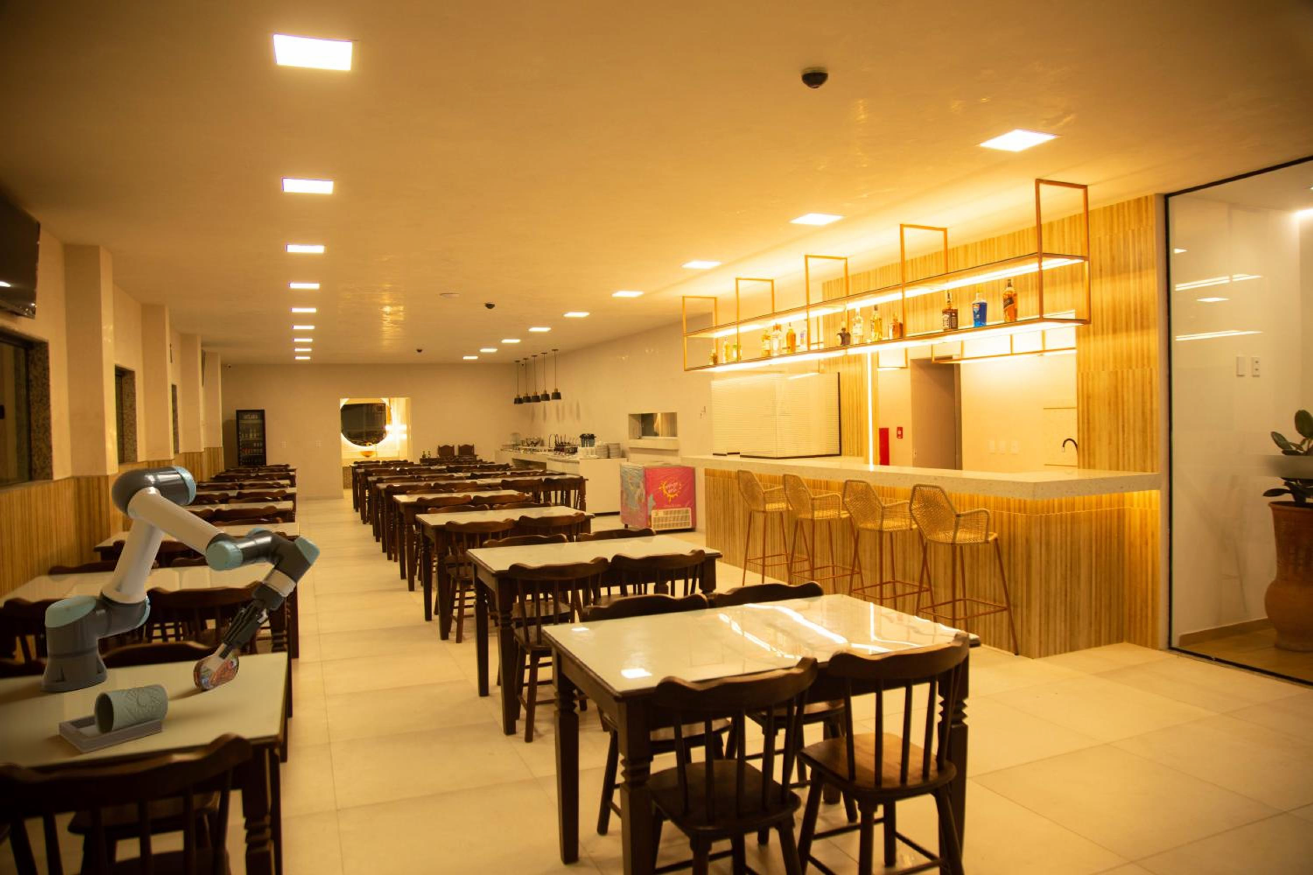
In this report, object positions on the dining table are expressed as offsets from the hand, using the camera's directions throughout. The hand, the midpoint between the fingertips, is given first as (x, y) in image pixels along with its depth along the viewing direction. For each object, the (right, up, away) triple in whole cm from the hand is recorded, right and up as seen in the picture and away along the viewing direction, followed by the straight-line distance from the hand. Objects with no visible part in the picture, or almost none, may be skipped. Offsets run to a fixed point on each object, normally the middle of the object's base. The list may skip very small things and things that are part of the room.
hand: (209, 668), depth 213 cm
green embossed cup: (-6, -5, -11) cm, 13 cm away
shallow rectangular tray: (-14, -10, -16) cm, 24 cm away
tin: (-8, -9, +18) cm, 22 cm away
